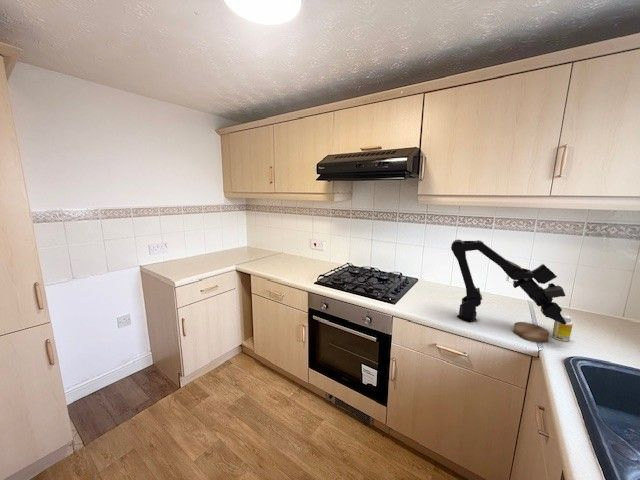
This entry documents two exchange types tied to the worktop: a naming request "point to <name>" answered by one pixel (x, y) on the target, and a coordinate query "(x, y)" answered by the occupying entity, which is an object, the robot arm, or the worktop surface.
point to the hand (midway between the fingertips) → (561, 319)
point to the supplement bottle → (563, 329)
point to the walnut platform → (531, 332)
